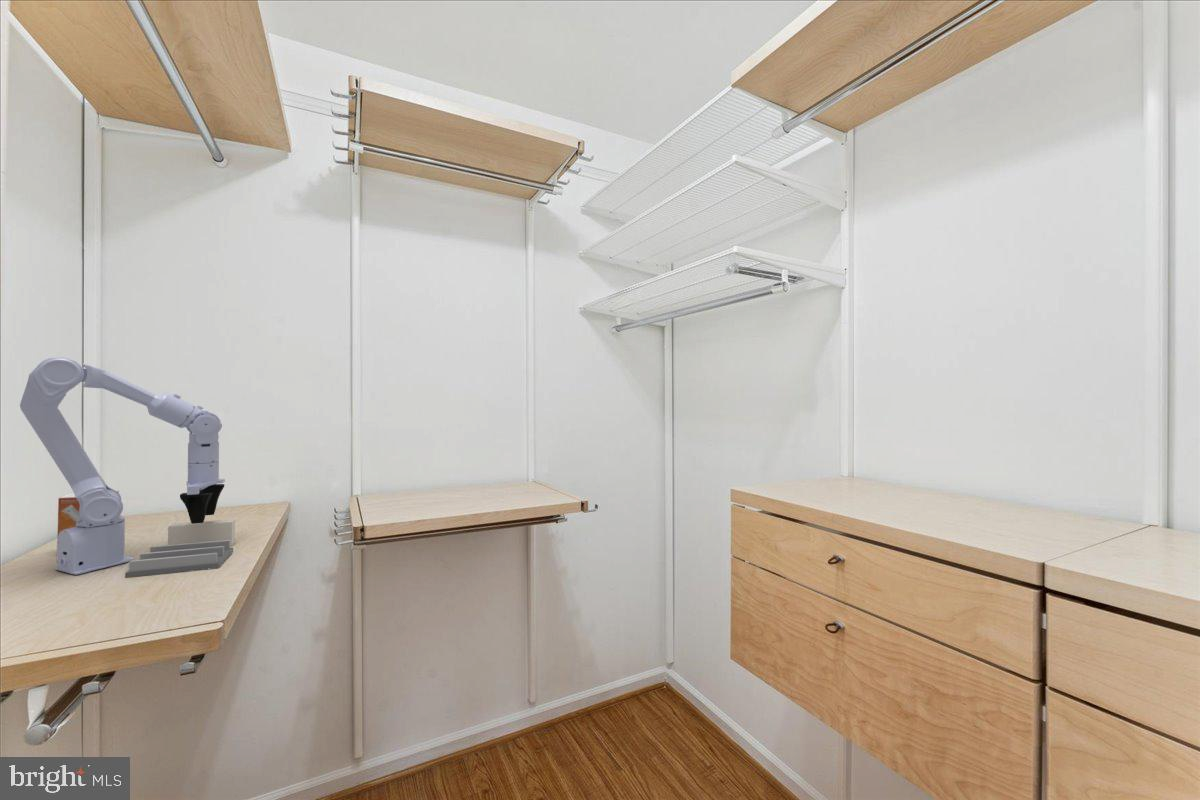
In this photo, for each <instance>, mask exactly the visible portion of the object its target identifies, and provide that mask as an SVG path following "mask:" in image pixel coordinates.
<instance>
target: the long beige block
mask: <svg viewBox="0 0 1200 800" xmlns="http://www.w3.org/2000/svg"><path fill="white" fill-rule="evenodd" d="M222 540H230V547H233V545H234V544H235V540H236V519H221V520H220V519H219V520H204V522H203V523H195V524H192V523H191V521H190V522H178V523H171V524H169V525H168V526H167V545H174V544H186V543H198V542H210V541H222Z"/></svg>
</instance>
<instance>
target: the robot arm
mask: <svg viewBox="0 0 1200 800" xmlns="http://www.w3.org/2000/svg"><path fill="white" fill-rule="evenodd" d="M81 382H83V386H82V387H83V388H90V389H91V388H92V389H104V390H105V391H106V390H107V391H108V392H111V393H113V394H116V395H118V396H120V397H123V398H126V399H129V400H130V401H133V402H136V403H137V404H140V405H143V406H145V407H146V409H147V411H148V414H149V415H150V416H151V417H153V418H157V419H158V420H161V421H164V422H166V423H169V424H171V425H173V426H176V427H177V428H180V429H184V428H186V430H187V431H188V432H189V433H188V434H189V435H188V437H189V438H188V444H187V481H186V492H182V493H180V494H179V499H180V500H181V501H182V503H183V504H184V506H185V508H186V510H187V513H188V516H189V521H190V522H191V523H192V524H195V523H203V522H204V521H205V519H206V516H214V515H215V512H216V508H217V506H218V505H217V504H218V501H219V498H220V496H221V494H222V491H223V489H224V488H225V484H224V483H225V481H226V479H225V478H219V477H220V469H219V468H220V442H219V437H220V435H219V432H220V431H221V430H222V428H223V423H222V422H221V420H220V418H219V417H218V416H217V415H216V414H215V413H212V412H209V411H208V410H203V409H204V406H202V405H194V404H192V403H190V402H188V401H185V400H184V399H181V398H182V396H181V395H179V394H178V393H173V394H170V393H169V392H166V393H160V394H155V393H154V392H151V391H149V390H147V389H144V388H142V387H141V386H138V385H137V384H134V383H133V382H130V381H128V380H126V379H124V378H122V377H120V376H117V375H116V374H115V373H111V372H109V371H107V370H105V369H104V370H103V369H101V368H98V367H95V366H92V365H89V364H85V363H82V365H81V364H80V363H78V362H77V361H76V360H74V359H72V358H69V357H66V356H65V357H64V356H55V357H54V356H52V357H48V358H45V359H44V360H42V361H41V362H40V363H38V364H37V366H36V367H35V368H34V369H32V370H31V372H30V373H29V374H28V378H27V382H26V385H25V388H24V391H23V394H22V396H21V400H20V402H19V407H20V410H21V412H22V414H23V416H24V417H25V418H26V420H27V421H28V423H29V424H30V426H31V427H32V429H33V430H34V432H35V434H36V435H37V437H38V438H39V439H40V441H41V443H42V444H43V446H44V447H45V449H46V450H47V452H48V453H49V456H50V457H51V459H53V461H54V463H55V464H56V466H57V468H58V469H59V471H60V473H61V474H62V475H63V477H64V479H65V480H66V481H67V483H68V484H69V486H70V488H71V490H72V493H74V494H75V496H76V498H77V500H78V501H79V504H80V509H79V514H80V517H81V519H80V520H79V521H77V522H76V526H74V527H72V528H69V529H65V530H62V531H61V532H60V533H59V535H58V534H57V535H58V539H57V538H56V566H55V567H54V569H55V570H57V571H60V572H63V573H66V574H71V575H74V576H75V575H80V574H85V573H89V572H92V571H98V570H101V569H104V568H109V567H113V566H117V565H122V564H125V563H129V562H130V561H133V560H135V557H131V556H127V555H125V545H126V544H125V539H126V537H125V533H126V531H125V530H126V529H125V528H126V517H125V516H123V515H121V514H122V512H123V511H124V502H123V501H122V497H121V494H120V492H119V493H118V492H117V491H118V490H115V489H113V488H111V487H109V486H108V484H107V483H106V482H105V479H103V477H102V476H101V475H100V473H99V471H98V470H97V469H96V467H95V465H94V464H93V462H92V461H91V459H90V457H89V456H88V454H87V452H86V451H85V449H84V447H83V446H82V444H81V443H80V441H79V439H78V437H77V436H76V435H75V433H74V431H73V429H71V427H70V425H69V423H68V421H66V418H65V417H64V416H63V414H62V411H61V410H60V409H59V406H60V404H61V403H62V401H63V400H64V398H65V397H66V396H67V393H68V392H69V391H71V390H72V389H74V388H75V387H76V386H77V385H80V383H81Z"/></svg>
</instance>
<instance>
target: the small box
mask: <svg viewBox="0 0 1200 800" xmlns="http://www.w3.org/2000/svg"><path fill="white" fill-rule="evenodd" d="M116 491H117V492H118V493H119V494H120V490H116ZM57 503H58V505H57V507H58V508H57V537H56V540H57V539H58V535H59V533H60V532H61V531H62V530H65V529H69V528H72V527H74V526H76V522H77V521H79V520H80V519H81V517H80V514H79V509H80V504H79V501H78V500H77V498H76V496H75V494H74V492H71V493H69V494H66V495H63V496H60V497H58V502H57Z"/></svg>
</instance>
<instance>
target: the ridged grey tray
mask: <svg viewBox="0 0 1200 800" xmlns="http://www.w3.org/2000/svg"><path fill="white" fill-rule="evenodd" d="M149 549H150V550H149V551H150V552H142V553H140V554H139V557H140V559H134V560H133V561H129V562H128V564H129V566H128V570H126V571H125V572H124V578H126V579H127V578H137V577H145V576H155V575H164V574H165V573H166V574H175V573H174V572H176V573H182V572H181V571H186V572H191V571H190V570H195V571H200V570H199V569H205V570H209V569H208V568H215V569H219V568H220V567H222V565H223V564H224V563H225V562H226V561H227V559H229V557H230V556H231V555H232V554H233V553H234V547H231V546H230V540H222V541H210V542H198V543H186V544H174V545H168V544H165V545H154V546H150V548H149ZM232 552H233V553H232ZM231 553H232V554H231ZM225 560H226V561H225ZM224 561H225V562H224ZM223 562H224V563H223ZM221 564H222V565H221Z"/></svg>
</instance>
